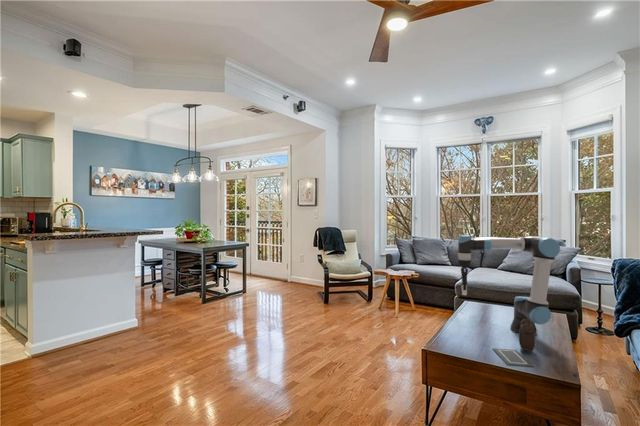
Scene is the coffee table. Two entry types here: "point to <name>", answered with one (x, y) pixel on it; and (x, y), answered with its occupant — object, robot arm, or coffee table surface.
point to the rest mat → (512, 357)
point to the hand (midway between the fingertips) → (464, 292)
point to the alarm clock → (527, 335)
